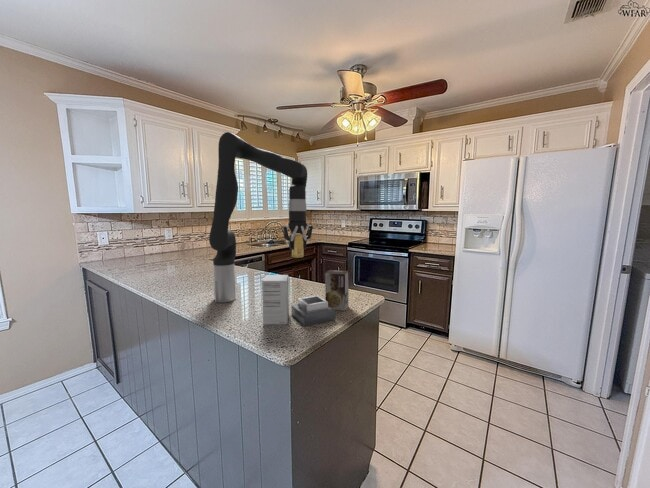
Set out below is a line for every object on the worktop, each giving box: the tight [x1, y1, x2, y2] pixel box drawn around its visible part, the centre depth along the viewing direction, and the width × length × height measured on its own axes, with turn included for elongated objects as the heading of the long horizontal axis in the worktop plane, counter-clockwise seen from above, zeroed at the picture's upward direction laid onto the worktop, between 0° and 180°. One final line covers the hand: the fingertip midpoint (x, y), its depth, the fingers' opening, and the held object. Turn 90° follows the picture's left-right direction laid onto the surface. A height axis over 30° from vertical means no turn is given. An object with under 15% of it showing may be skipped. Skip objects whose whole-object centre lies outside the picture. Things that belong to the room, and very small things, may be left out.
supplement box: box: [261, 274, 290, 326], centre depth 104 cm, size 10×9×17 cm
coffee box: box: [324, 269, 350, 312], centre depth 118 cm, size 9×6×16 cm
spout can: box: [291, 233, 305, 259], centre depth 120 cm, size 5×7×10 cm
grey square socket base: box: [291, 295, 336, 327], centre depth 108 cm, size 13×13×7 cm
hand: (297, 249), depth 119 cm, fingers closed on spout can, 5 cm apart
